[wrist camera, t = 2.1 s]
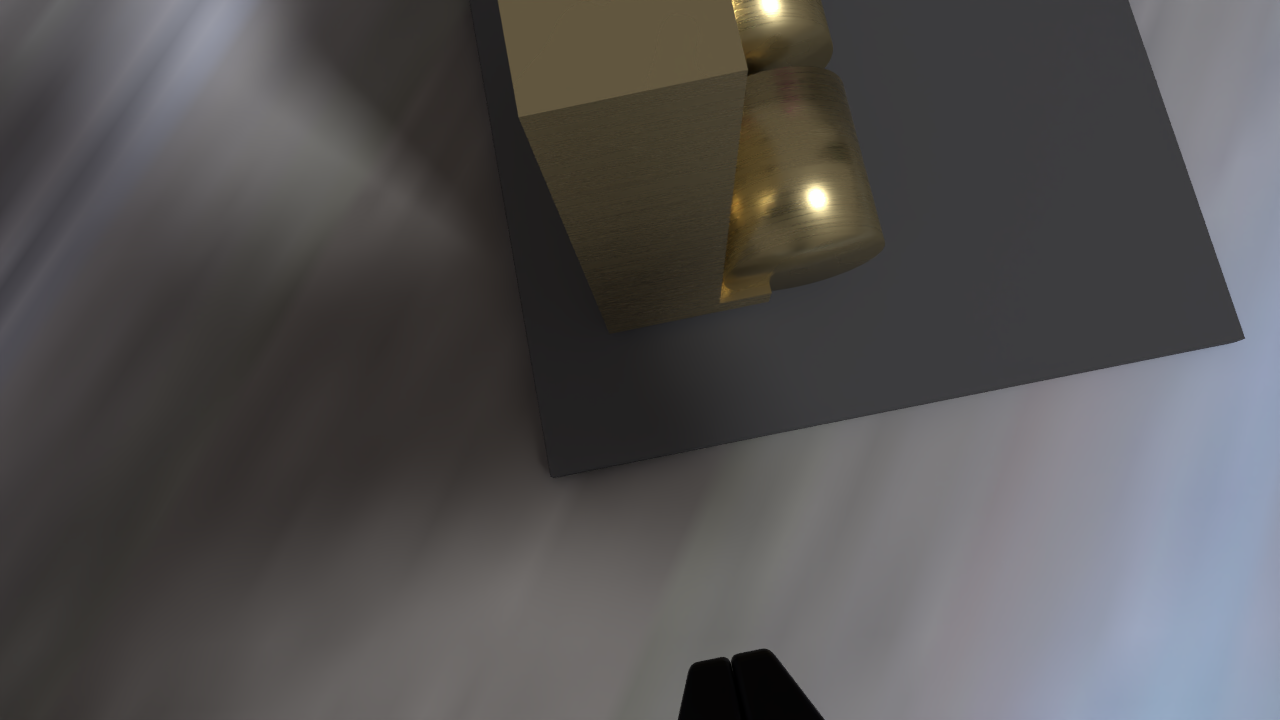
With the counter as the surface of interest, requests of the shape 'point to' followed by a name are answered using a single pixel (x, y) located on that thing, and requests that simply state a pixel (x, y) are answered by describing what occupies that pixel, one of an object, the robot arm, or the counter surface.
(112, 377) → the counter surface
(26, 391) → the counter surface
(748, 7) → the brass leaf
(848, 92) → the rubber mat
